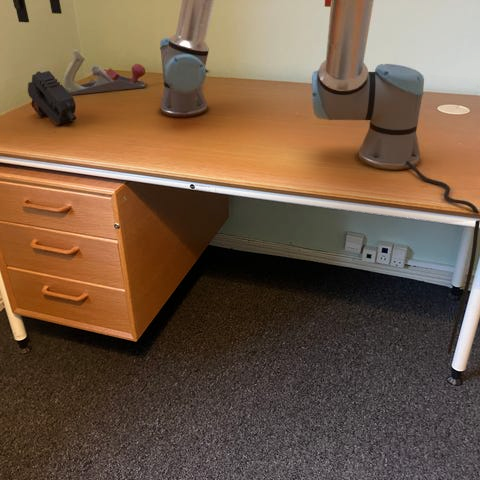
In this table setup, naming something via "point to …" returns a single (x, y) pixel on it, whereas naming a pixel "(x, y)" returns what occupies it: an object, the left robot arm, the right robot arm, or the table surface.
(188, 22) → the left robot arm
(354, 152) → the table surface
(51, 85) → the tool
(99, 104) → the table surface
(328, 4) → the block
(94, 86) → the hand plane
